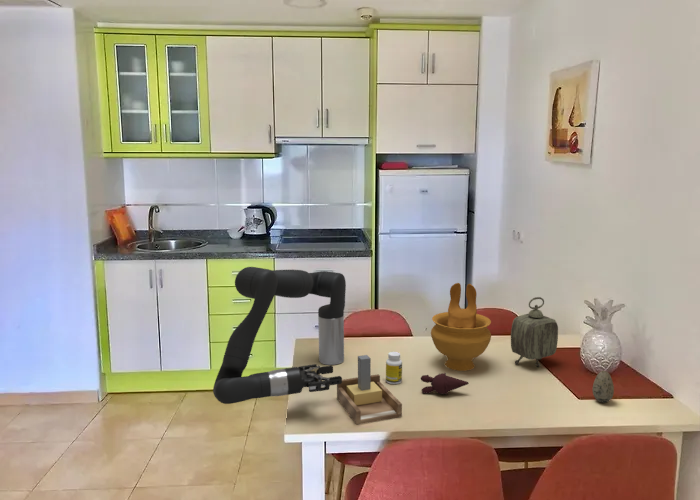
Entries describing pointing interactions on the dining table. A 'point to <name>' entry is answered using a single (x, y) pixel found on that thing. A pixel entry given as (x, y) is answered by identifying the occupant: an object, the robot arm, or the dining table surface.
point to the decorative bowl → (461, 331)
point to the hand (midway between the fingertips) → (337, 374)
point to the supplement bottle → (393, 368)
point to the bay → (371, 411)
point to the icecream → (442, 383)
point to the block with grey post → (364, 384)
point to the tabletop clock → (534, 335)
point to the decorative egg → (603, 387)
